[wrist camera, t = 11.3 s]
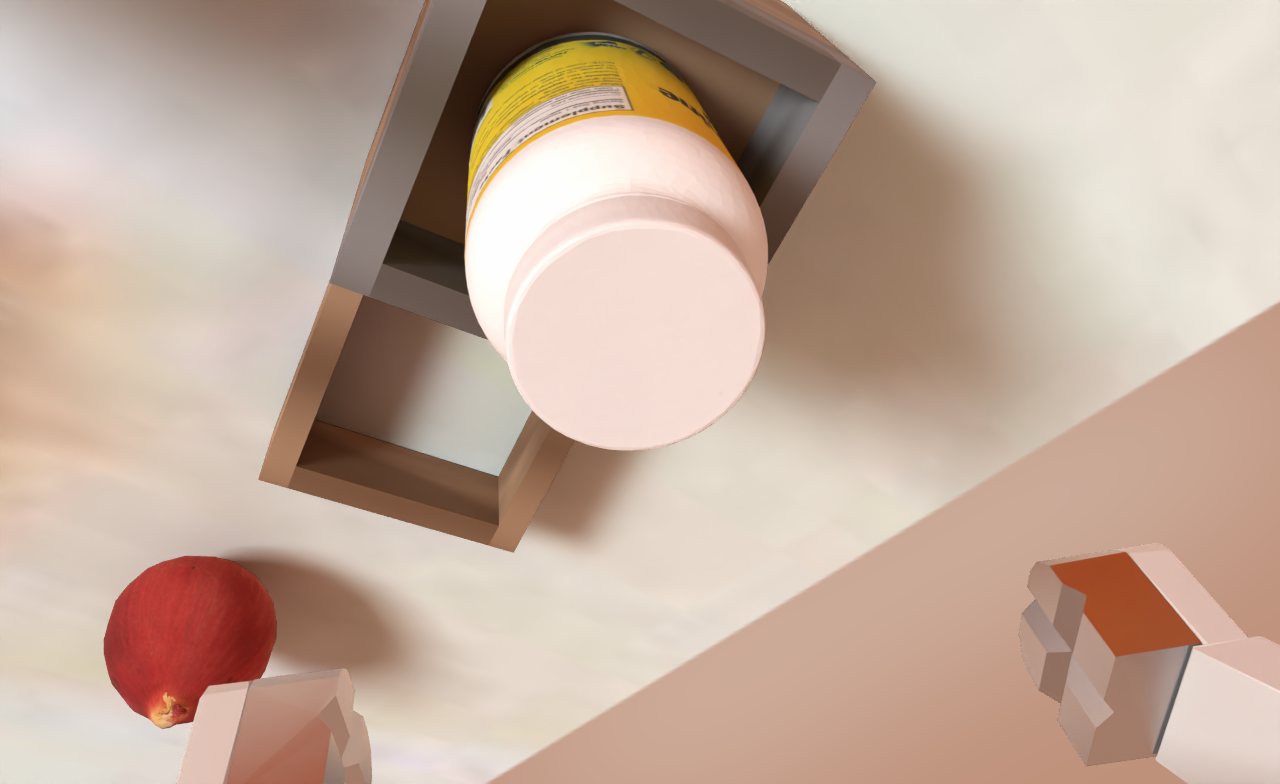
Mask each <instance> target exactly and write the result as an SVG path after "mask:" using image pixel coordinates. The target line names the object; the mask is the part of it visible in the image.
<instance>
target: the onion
mask: <svg viewBox="0 0 1280 784" xmlns="http://www.w3.org/2000/svg"><path fill="white" fill-rule="evenodd" d="M276 630H277V621H276V616H275V610H274V605H273V602H272V600H271V598H270V596H269V594H268V592H267V590H266V589H265V588H264V586H263V585H262V584H261V582H260V581H259V580H258V578H257V577H256V576H255V575H254V574H252V573H251V572H249V571H247V570H246V569H244V568H243V567H241V566H239V565H238V564H236V563H235V562H233V561H229V560H225V559H221V558H217V557H206V556H183V557H179V558H176V559H172V560H168V561H164V562H161V563H159V564H157V565H155V566H152V567H150V568H148V569H146V570H145V571H144V572H143V573H142V574H141V575H139V576H138V577H137V578H136V579H135V580H134V581H132V582H131V583H130V584H129V585H128V586H127V587H126V588H125V590H124V591H123V592H122V593H121V595H120V596H119V597H118V599H117V600H116V601H115V604H114V607H113V610H112V613H111V616H110V619H109V622H108V626H107V630H106V633H105V637H104V656H105V661H106V665H107V670H108V674H109V677H110V680H111V683H112V685H113V686H114V687H115V689H116V690H117V691H118V693H119V694H120V695H121V696H122V698H123V699H124V700H125V702H126V703H127V704H128V705H129V707H130V708H131V709H132V710H133V711H134V712H136V713H138V714H140V715H142V716H144V717H146V718H148V719H150V720H151V721H152V722H153V723H154V724H155V725H156V726H158V727H160V728H162V729H165V728H170V727H172V726H174V725H176V724H183V723H189V722H193V721H194V717H195V714H196V710H197V707H198V703H199V700H200V698H201V696H202V695H203V693H204V692H205V691H206V689H207V688H208V686H213V685H221V684H229V683H236V682H244V681H252V680H255V679H260V678H261V676H262V675H263V673H264V672H265V669H266V666H267V664H268V661H269V658H270V655H271V652H272V649H273V646H274V643H275V640H276Z"/></svg>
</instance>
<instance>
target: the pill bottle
mask: <svg viewBox="0 0 1280 784" xmlns="http://www.w3.org/2000/svg"><path fill="white" fill-rule="evenodd" d="M464 258H465V273H466V280H467V288H468V292H469V297H470V301H471V304H472V307H473V310H474V313H475V315H476V318H477V320H478V323H479V324H480V326H481V328H482V330H483V332H484V333H485V335H486V337H487V338H488V340H489V341H490V343H491V344H492V345H493V347H494V348H495V349H496V350H497V352H498V353H499V354H500V355H501V356H502V357H503V358H504V359H505V360H506V361H507V362H508V366H509V370H510V373H511V376H512V378H513V381H514V383H515V384H516V387H517V389H518V391H519V393H520V394H521V396H522V397H523V399H524V400H525V402H526V403H527V404H528V405H529V407H530V408H531V409H532V410H533V412H534V413H535V414H536V415H538V416H539V417H540V418H541V419H542V420H543V421H544V422H545V423H547V424H548V425H549V426H551V427H552V428H553V429H555V430H556V431H558V432H560V433H562V434H563V435H565V436H567V437H569V438H572V439H574V440H577V441H579V442H581V443H584V444H587V445H590V446H594V447H599V448H603V449H609V450H621V451H637V450H647V449H653V448H659V447H664V446H667V445H670V444H673V443H676V442H679V441H682V440H684V439H687V438H689V437H691V436H693V435H695V434H697V433H699V432H701V431H703V430H704V429H706V428H707V427H709V426H710V425H712V424H713V423H714V422H716V421H717V420H718V419H720V418H721V417H722V416H723V415H724V414H726V413H727V412H728V411H729V410H730V409H731V408H732V407H733V406H734V405H735V404H736V402H737V401H738V400H739V399H740V398H741V396H742V395H743V393H744V392H745V391H746V389H747V388H748V386H749V384H750V382H751V380H752V379H753V377H754V375H755V373H756V371H757V368H758V365H759V363H760V360H761V356H762V352H763V348H764V344H765V333H766V322H765V312H764V307H763V301H762V295H763V292H764V287H765V282H766V277H767V266H768V243H767V234H766V229H765V224H764V220H763V217H762V214H761V209H760V207H759V205H758V203H757V200H756V198H755V196H754V194H753V192H752V190H751V188H750V186H749V184H748V182H747V180H746V179H745V177H744V175H743V174H742V172H741V171H740V169H739V168H738V166H737V164H736V163H735V161H734V160H733V158H732V157H731V155H730V153H729V152H728V150H727V148H726V147H725V145H724V143H723V141H722V140H721V138H720V136H719V135H718V133H717V131H716V130H715V128H714V126H713V125H712V123H711V122H710V120H709V118H708V117H707V115H706V113H705V112H704V110H703V108H702V107H701V105H700V103H699V102H698V100H697V98H696V97H695V95H694V94H693V92H692V91H691V89H690V88H689V86H688V85H687V83H686V82H685V80H684V79H683V78H682V76H681V75H680V74H679V73H678V72H677V70H676V69H675V68H674V67H673V66H672V65H671V64H670V63H669V62H668V61H666V60H665V59H664V58H663V57H662V56H660V55H659V54H658V53H656V52H655V51H653V50H652V49H650V48H649V47H647V46H645V45H643V44H641V43H639V42H636V41H634V40H632V39H629V38H626V37H623V36H620V35H616V34H611V33H604V32H580V33H569V34H565V35H560V36H556V37H553V38H550V39H547V40H544V41H542V42H540V43H538V44H536V45H534V46H532V47H530V48H528V49H527V50H525V51H524V52H522V53H521V54H519V55H518V56H516V57H515V58H514V59H513V60H512V61H510V62H509V63H508V64H507V65H506V66H505V67H504V68H503V69H502V70H501V71H500V73H499V74H498V75H497V76H496V77H495V79H494V80H493V82H492V83H491V85H490V86H489V88H488V89H487V91H486V93H485V95H484V97H483V99H482V101H481V103H480V105H479V108H478V111H477V114H476V118H475V122H474V127H473V134H472V140H471V149H470V160H469V177H468V193H467V213H466V232H465V255H464Z"/></svg>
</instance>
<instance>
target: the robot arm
mask: <svg viewBox="0 0 1280 784" xmlns="http://www.w3.org/2000/svg"><path fill="white" fill-rule="evenodd" d="M1027 587H1028V589H1029V590H1030V591H1031V593H1032V594H1033V596H1034V598H1035V600H1034V601H1033V602H1032V603H1031V604H1030V605H1029V606H1028V608H1027V609H1026V610H1025V611H1024V612H1023V613H1022V616H1021V623H1020V629H1019V638H1020V646H1021V652H1022V657H1023V660H1024V662H1025V665H1026V668H1027V670H1028V673H1029V674H1030V676H1031V678H1032V680H1033V681H1034V683H1035V684H1036V686H1037V688H1038V690H1039V691H1041V692H1043V693H1044V694H1046V695H1047V696H1049V697H1051V698H1053V699H1054V700H1056V701H1058V702H1059V703H1060V708H1059V714H1058V719H1057V721H1058V722H1059V724H1060V725H1061V727H1062V729H1063V730H1064V732H1065V734H1066V735H1067V737H1068V738H1069V740H1070V741H1071V743H1072V745H1073V747H1074V748H1075V750H1076V751H1077V753H1078V754H1079V756H1080V758H1081V759H1082V761H1083V763H1084V764H1085V766H1092V765H1099V764H1106V763H1113V762H1120V761H1127V760H1134V759H1141V758H1148V757H1156V756H1157V757H1156V761H1158V762H1159V763H1161V764H1162V765H1163V766H1165V767H1166V768H1167V769H1169V770H1170V771H1172V772H1173V773H1174V774H1176V775H1177V776H1178V777H1180V778H1181V779H1183V780H1184V781H1186V782H1187V783H1188V784H1280V645H1279V644H1276V643H1274V642H1272V641H1270V640H1268V639H1266V638H1264V637H1262V636H1257V637H1249V638H1248V636H1247V635H1246V634H1245V633H1244V632H1243V631H1242V630H1241V629H1240V628H1239V626H1238V625H1237V624H1236V623H1235V622H1234V621H1233V620H1232V619H1231V618H1230V616H1229V615H1228V614H1227V613H1226V612H1225V611H1224V610H1223V609H1222V608H1221V606H1219V604H1218V603H1217V602H1216V601H1215V600H1214V599H1213V598H1212V596H1211V595H1210V594H1209V593H1208V592H1207V591H1206V590H1205V589H1204V587H1203V586H1202V585H1201V584H1200V583H1199V582H1198V581H1197V580H1196V579H1195V577H1194V576H1193V575H1192V574H1191V573H1190V572H1189V571H1188V570H1187V569H1186V567H1185V566H1184V565H1183V564H1182V563H1181V562H1180V561H1179V560H1178V559H1177V557H1176V556H1175V555H1174V554H1173V553H1172V552H1171V551H1170V550H1169V549H1168V548H1167V547H1165V546H1163V545H1161V544H1159V543H1150V544H1144V545H1139V546H1132V547H1126V548H1120V549H1116V550H1107V551H1101V552H1095V553H1088V554H1082V555H1076V556H1070V557H1064V558H1058V559H1052V560H1046V561H1039V562H1037V563H1036V564H1035V565H1034V567H1033V568H1032V569H1031V571H1030V575H1029V580H1028V584H1027ZM354 693H355V689H354V686H353V684H352V681H351V678H350V675H349V672H348V670H346V669H343V668H340V669H332V670H324V671H316V672H308V673H300V674H292V675H285V676H277V677H269V678H261V679H255V680H252V681H244V682H236V683H229V684H221V685H213V686H208V688H207V689H206V691H205V692H204V693H203V695H202V696H201V698H200V700H199V703H198V707H197V710H196V714H195V717H194V721H193V724H192V728H191V732H190V735H189V739H188V742H187V746H186V749H185V753H184V756H183V760H182V763H181V767H180V770H179V774H178V778H177V781H176V784H371V782H372V768H371V749H370V743H369V737H368V732H367V728H366V725H365V721H364V718H363V716H361V715H360V714H358V713H357V712H355V711H353V702H354Z"/></svg>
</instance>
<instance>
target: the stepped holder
mask: <svg viewBox="0 0 1280 784" xmlns="http://www.w3.org/2000/svg"><path fill="white" fill-rule="evenodd" d="M580 32H604V33H611V34H616V35H620V36H623V37H626V38H629V39H632V40H634V41H636V42H639V43H641V44H643V45H645V46H647V47H649V48H650V49H652V50H653V51H655V52H656V53H658V54H659V55H660V56H662V57H663V58H664V59H665V60H666V61H668V62H669V63H670V64H671V65H672V66H673V67H674V68H675V69H676V70H677V72H678V73H679V74H680V75H681V76H682V78H683V79H684V80H685V82H686V83H687V85H688V86H689V88H690V89H691V91H692V92H693V94H694V95H695V97H696V98H697V100H698V102H699V103H700V105H701V107H702V108H703V110H704V112H705V113H706V115H707V117H708V118H709V120H710V122H711V123H712V125H713V126H714V128H715V130H716V131H717V133H718V135H719V136H720V138H721V140H722V141H723V143H724V145H725V147H726V148H727V150H728V152H729V153H730V155H731V157H732V158H733V160H734V161H735V163H736V164H737V166H738V168H739V169H740V171H741V172H742V174H743V175H744V177H745V179H746V180H747V182H748V184H749V186H750V188H751V190H752V192H753V194H754V196H755V198H756V200H757V203H758V205H759V207H760V209H761V214H762V217H763V220H764V224H765V229H766V234H767V243H768V264H769V262H770V260H771V259H772V257H773V255H774V254H775V252H776V250H777V249H778V247H779V245H780V243H781V242H782V240H783V238H784V237H785V235H786V233H787V232H788V230H789V228H790V227H791V225H792V223H793V222H794V220H795V218H796V216H797V215H798V213H799V211H800V210H801V208H802V206H803V205H804V203H805V201H806V200H807V198H808V196H809V195H810V193H811V191H812V190H813V188H814V186H815V184H816V183H817V181H818V179H819V178H820V176H821V174H822V173H823V171H824V169H825V168H826V166H827V164H828V163H829V161H830V159H831V157H832V156H833V154H834V152H835V151H836V149H837V147H838V146H839V144H840V142H841V141H842V139H843V137H844V136H845V134H846V132H847V130H848V129H849V127H850V125H851V124H852V122H853V120H854V119H855V117H856V115H857V114H858V112H859V110H860V109H861V107H862V105H863V103H864V102H865V100H866V98H867V97H868V95H869V93H870V92H871V90H872V88H873V87H874V85H875V83H876V81H875V80H873V79H872V78H871V77H870V76H869V75H868V74H866V73H865V72H864V71H863V70H862V69H861V68H859V67H858V66H857V65H856V64H855V63H854V62H853V61H851V60H850V59H849V58H848V57H847V56H846V55H844V54H843V53H842V52H841V51H840V50H839V49H837V48H836V47H835V46H834V45H833V44H832V43H831V42H829V41H828V40H827V39H826V38H825V37H824V36H822V35H821V34H820V33H819V32H818V31H817V30H815V29H814V28H813V27H812V26H811V25H810V24H809V23H807V22H806V21H805V20H804V19H803V18H802V17H800V16H799V15H798V14H797V13H796V12H795V11H794V10H792V9H791V8H790V7H789V6H788V5H787V4H785V3H784V2H782V1H780V0H425V2H424V5H423V8H422V11H421V13H420V16H419V19H418V21H417V24H416V27H415V29H414V32H413V35H412V38H411V40H410V43H409V46H408V48H407V51H406V54H405V57H404V59H403V62H402V65H401V67H400V70H399V73H398V75H397V78H396V81H395V84H394V86H393V89H392V92H391V94H390V97H389V100H388V102H387V105H386V108H385V111H384V113H383V116H382V119H381V121H380V124H379V127H378V130H377V132H376V135H375V138H374V140H373V143H372V146H371V148H370V151H369V154H368V157H367V159H366V163H365V166H364V169H363V173H362V176H361V179H360V183H359V186H358V189H357V193H356V196H355V199H354V203H353V206H352V209H351V213H350V216H349V219H348V223H347V226H346V229H345V233H344V236H343V239H342V243H341V246H340V249H339V253H338V256H337V259H336V263H335V266H334V269H333V273H332V276H331V279H330V282H329V284H328V287H327V290H326V292H325V295H324V298H323V300H322V303H321V306H320V308H319V311H318V314H317V316H316V319H315V322H314V324H313V327H312V330H311V332H310V335H309V338H308V340H307V343H306V346H305V348H304V351H303V354H302V356H301V359H300V362H299V364H298V367H297V370H296V372H295V375H294V378H293V380H292V383H291V386H290V388H289V391H288V394H287V396H286V399H285V402H284V405H283V407H282V410H281V413H280V415H279V418H278V421H277V423H276V426H275V429H274V431H273V434H272V438H271V441H270V444H269V447H268V450H267V453H266V457H265V460H264V463H263V466H262V469H261V472H260V476H259V479H258V480H261V481H265V482H268V483H272V484H275V485H279V486H282V487H286V488H289V489H293V490H296V491H300V492H303V493H307V494H310V495H314V496H317V497H321V498H324V499H328V500H331V501H335V502H338V503H342V504H345V505H349V506H352V507H356V508H359V509H363V510H366V511H370V512H373V513H377V514H380V515H384V516H387V517H391V518H394V519H398V520H401V521H405V522H408V523H412V524H415V525H419V526H422V527H426V528H429V529H433V530H436V531H440V532H443V533H447V534H450V535H454V536H457V537H461V538H464V539H468V540H471V541H475V542H478V543H482V544H485V545H489V546H492V547H496V548H499V549H503V550H506V551H510V552H513V553H514V551H515V549H516V547H517V545H518V543H519V542H520V540H521V538H522V536H523V534H524V532H525V531H526V529H527V527H528V525H529V523H530V521H531V519H532V518H533V516H534V514H535V512H536V510H537V508H538V507H539V505H540V503H541V501H542V499H543V497H544V496H545V494H546V492H547V490H548V488H549V486H550V484H551V483H552V481H553V479H554V477H555V475H556V473H557V472H558V470H559V468H560V466H561V464H562V462H563V461H564V459H565V457H566V455H567V453H568V451H569V450H570V448H571V446H572V444H573V442H574V439H572V438H569V437H567V436H565V435H563V434H562V433H560V432H558V431H556V430H555V429H553V428H552V427H551V426H549V425H548V424H547V423H545V422H544V421H543V420H542V419H541V418H540V417H539V416H538V415H536V414H535V413H534V412H533V410H532V412H531V414H530V416H529V418H528V420H527V422H526V424H525V426H524V428H523V430H522V432H521V434H520V436H519V438H518V440H517V442H516V444H515V445H514V447H513V449H512V451H511V453H510V455H509V457H508V459H507V461H506V463H505V465H504V467H503V469H502V471H501V473H500V475H499V477H496V476H493V475H490V474H487V473H484V472H480V471H477V470H474V469H471V468H467V467H464V466H461V465H458V464H455V463H451V462H448V461H445V460H442V459H438V458H435V457H432V456H429V455H426V454H422V453H419V452H416V451H413V450H409V449H406V448H403V447H400V446H397V445H393V444H390V443H387V442H384V441H381V440H377V439H374V438H371V437H368V436H364V435H361V434H358V433H355V432H352V431H348V430H345V429H342V428H339V427H335V426H332V425H329V424H326V423H323V422H319V421H316V420H314V419H315V416H316V414H317V411H318V409H319V406H320V403H321V401H322V398H323V396H324V393H325V391H326V388H327V386H328V383H329V381H330V378H331V376H332V373H333V370H334V368H335V365H336V363H337V360H338V358H339V355H340V353H341V350H342V348H343V345H344V343H345V340H346V337H347V335H348V332H349V330H350V327H351V325H352V322H353V320H354V317H355V315H356V312H357V310H358V307H359V304H360V302H361V299H362V297H363V295H365V296H367V297H370V298H373V299H376V300H379V301H381V302H384V303H387V304H390V305H393V306H395V307H398V308H401V309H404V310H406V311H409V312H412V313H415V314H418V315H420V316H423V317H426V318H429V319H432V320H434V321H437V322H440V323H443V324H446V325H448V326H451V327H454V328H457V329H460V330H462V331H465V332H468V333H471V334H474V335H476V336H479V337H482V338H485V339H488V338H487V337H486V335H485V333H484V332H483V330H482V328H481V326H480V324H479V323H478V320H477V318H476V315H475V313H474V310H473V307H472V304H471V301H470V297H469V292H468V288H467V280H466V273H465V258H464V255H465V232H466V213H467V193H468V177H469V160H470V149H471V140H472V134H473V127H474V122H475V118H476V114H477V111H478V108H479V105H480V103H481V101H482V99H483V97H484V95H485V93H486V91H487V89H488V88H489V86H490V85H491V83H492V82H493V80H494V79H495V77H496V76H497V75H498V74H499V73H500V71H501V70H502V69H503V68H504V67H505V66H506V65H507V64H508V63H509V62H510V61H512V60H513V59H514V58H515V57H516V56H518V55H519V54H521V53H522V52H524V51H525V50H527V49H528V48H530V47H532V46H534V45H536V44H538V43H540V42H542V41H544V40H547V39H550V38H553V37H556V36H560V35H565V34H569V33H580Z"/></svg>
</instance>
